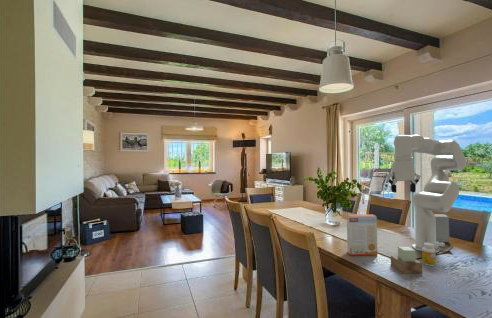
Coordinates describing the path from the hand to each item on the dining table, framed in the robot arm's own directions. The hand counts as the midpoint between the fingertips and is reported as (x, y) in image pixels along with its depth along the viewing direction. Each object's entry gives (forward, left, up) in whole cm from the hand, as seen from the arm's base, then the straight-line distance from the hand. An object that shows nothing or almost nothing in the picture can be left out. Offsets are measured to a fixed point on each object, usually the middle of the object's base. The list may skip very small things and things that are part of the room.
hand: (403, 192), depth 137 cm
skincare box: (-36, -24, -34) cm, 55 cm away
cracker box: (+20, -4, -34) cm, 39 cm away
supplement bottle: (-6, +10, -34) cm, 35 cm away
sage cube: (+8, +16, -29) cm, 34 cm away
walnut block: (+8, +16, -34) cm, 38 cm away
